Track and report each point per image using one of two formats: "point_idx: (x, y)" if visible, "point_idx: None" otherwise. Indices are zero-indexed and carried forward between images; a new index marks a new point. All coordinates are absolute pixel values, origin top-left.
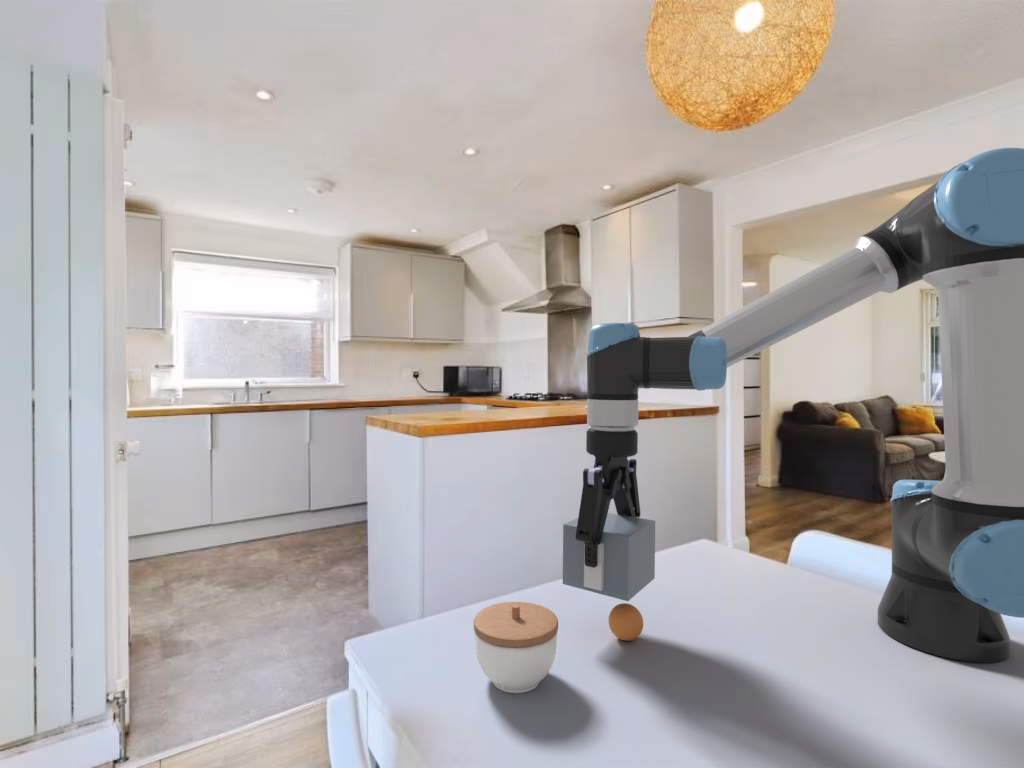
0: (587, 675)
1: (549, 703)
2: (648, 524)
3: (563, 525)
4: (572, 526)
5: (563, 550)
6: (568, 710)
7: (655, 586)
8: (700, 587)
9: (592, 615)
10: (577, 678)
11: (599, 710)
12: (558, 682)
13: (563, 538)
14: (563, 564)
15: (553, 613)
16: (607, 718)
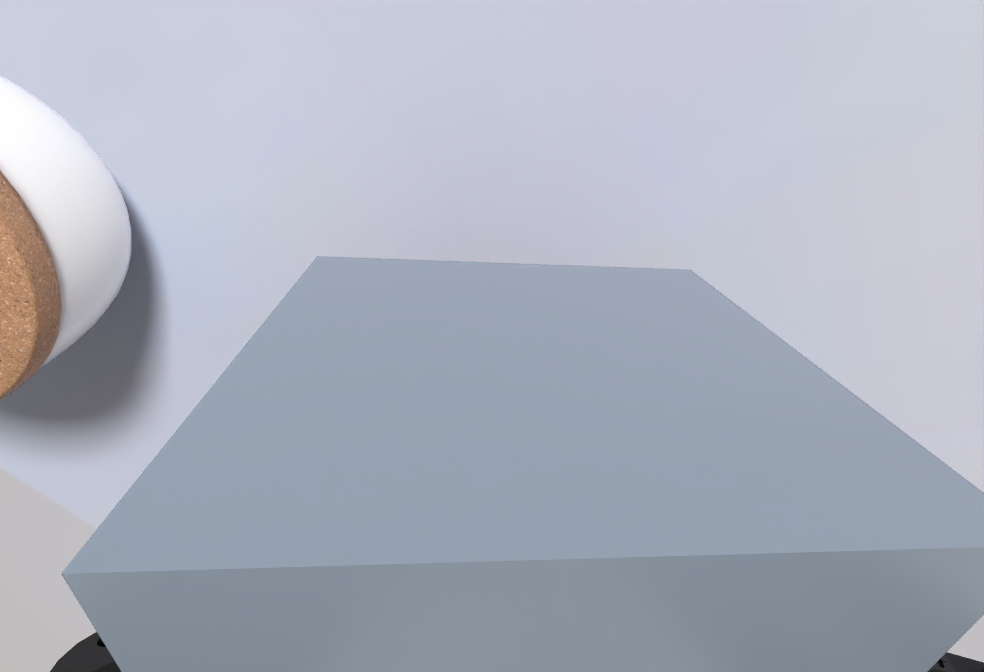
0: (233, 350)
1: None
2: None
3: (72, 562)
4: (123, 657)
5: (236, 360)
6: (70, 374)
7: (899, 309)
8: (908, 417)
9: (583, 213)
10: (200, 336)
11: (135, 423)
12: (141, 305)
13: (180, 429)
14: (282, 305)
15: (16, 365)
16: (126, 444)
